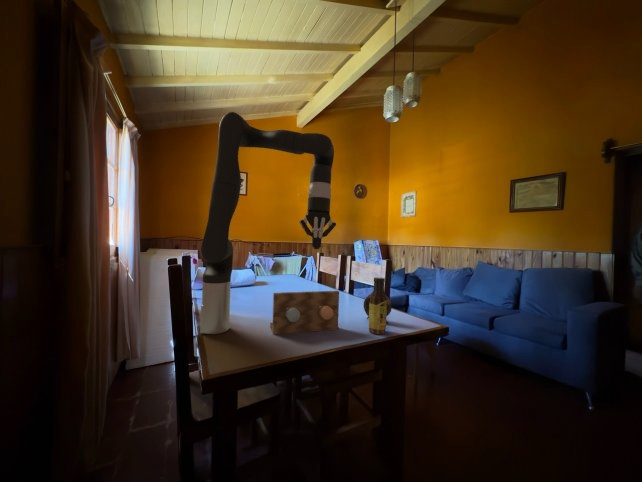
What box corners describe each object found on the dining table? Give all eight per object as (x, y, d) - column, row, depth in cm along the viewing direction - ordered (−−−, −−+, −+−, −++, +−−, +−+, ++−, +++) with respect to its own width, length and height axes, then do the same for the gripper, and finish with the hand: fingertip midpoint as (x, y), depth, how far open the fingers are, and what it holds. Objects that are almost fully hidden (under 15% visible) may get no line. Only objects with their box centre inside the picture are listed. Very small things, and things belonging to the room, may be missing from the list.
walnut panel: (273, 334, 93) (274, 293, 92) (270, 326, 100) (271, 289, 100) (337, 329, 100) (339, 291, 100) (330, 322, 108) (331, 287, 107)
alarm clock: (391, 322, 110) (392, 283, 110) (387, 326, 106) (388, 284, 105) (366, 317, 116) (367, 280, 116) (361, 320, 111) (362, 281, 111)
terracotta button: (313, 312, 103) (313, 300, 103) (323, 311, 104) (324, 300, 104) (321, 320, 93) (321, 307, 93) (333, 319, 95) (333, 306, 94)
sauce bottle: (382, 336, 94) (384, 279, 94) (365, 332, 97) (367, 277, 97) (388, 331, 100) (390, 277, 99) (372, 327, 103) (374, 276, 103)
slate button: (281, 314, 99) (282, 302, 99) (293, 313, 100) (293, 301, 100) (286, 322, 89) (287, 309, 89) (299, 321, 91) (300, 308, 91)
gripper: (334, 200, 96) (331, 249, 96) (297, 196, 92) (294, 247, 92) (341, 198, 89) (338, 250, 89) (302, 193, 85) (299, 248, 85)
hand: (316, 249), depth 90 cm, fingers closed
